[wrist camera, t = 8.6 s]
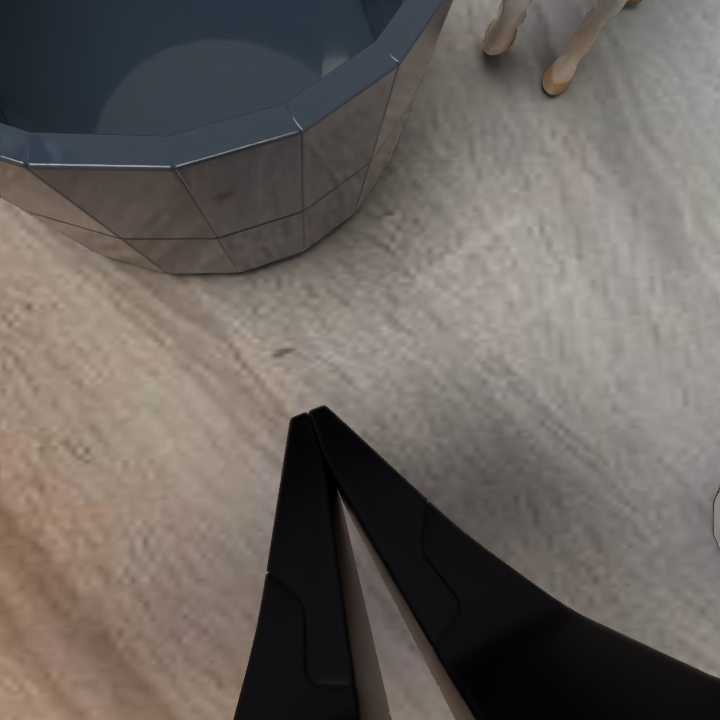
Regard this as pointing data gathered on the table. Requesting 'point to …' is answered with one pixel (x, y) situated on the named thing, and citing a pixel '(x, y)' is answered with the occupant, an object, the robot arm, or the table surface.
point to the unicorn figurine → (565, 66)
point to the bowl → (204, 120)
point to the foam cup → (717, 518)
